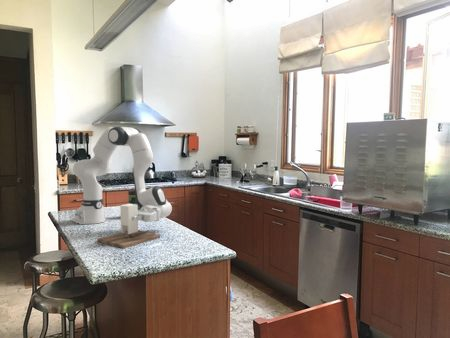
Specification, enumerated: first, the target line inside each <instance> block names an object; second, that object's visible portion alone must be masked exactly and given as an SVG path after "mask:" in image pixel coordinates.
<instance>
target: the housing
mask: <svg viewBox="0 0 450 338" xmlns="http://www.w3.org/2000/svg"><path fill="white" fill-rule="evenodd" d="M119 207H120V209H119V211H120V233H121V232H122V233H123V232H125V231H128V234H131V233H135V232H138V230H139V220H132V217H134V216H138V205H136V204H129V203H127V204H121V205H120V206H119Z"/></svg>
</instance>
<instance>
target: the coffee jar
mask: <svg viewBox="0 0 450 338" xmlns="http://www.w3.org/2000/svg"><path fill="white" fill-rule="evenodd" d="M127 193H128V194H127V195H128V196H127V197H128V204H136V201H135V188H130V189H129V190H128V192H127ZM136 205H137V204H136ZM138 210H141V208H140V207H138Z"/></svg>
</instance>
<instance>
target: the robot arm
mask: <svg viewBox="0 0 450 338" xmlns="http://www.w3.org/2000/svg"><path fill="white" fill-rule="evenodd" d="M149 141H150V140H149V139H148V137H147V135H146V134H144V133H143V132H142V131H141V130H140V129H138V128H136V127H130V126H129V127H128V126H115V127H114V126H109V127H108V128H106V129H105V130H104V132H103V133H102V134H101V135H100V137H99V138H98V140H97V142H96V143H95V145H94V147H93V149H92V153H93V154H94V156H93V157H92V158H89V159H87V158H86V159H81V160H78V161H75V163H74V164H73V165H72V171H73V174H74V175H75V177H77V178H78V179H79V181H80V183H81V185H82V192H83V194H82V195H83V199H82V200H80V202H81V206H80V207H79V208H77V209H76V210H75V213H74V217H72V218H71V219H70V221H71V222H74V223H77V224H78V223H79V225H93V224H95V225H96V224H100V223H104V222H106V220H107V217H106V212H105V207H104V198H103V185H102V184H100V183H99V182H98V180H97V177H102V176H104V175H107V174H108V173H109V172H110V170H111V164H110V160H111V157H112V155H113V153H114V152H115V150H117V149H116V148H117V147H118V146H121V147H129V148H130V151H131V154H132V159H133V165H132V178H133V185H134V189H135V201H136V204H137V205H138V207H140V208H141V210H138V216H134V217H132V220H138V221H142V222H145V223H148V222H149V223H151V222H160V220H161V219H163V218H167V217H168V216H170V214H171V213H172V210H173V206H172V204H171V203H170V202H169V201H168V199H167V198H166V193H165V191H164V190H163V188H161V187H160V186H153V187H150V188H148V189H146V182H145V173H146V172H147V170H148V169H149V168H150V167H151V165H152V164H153V161H154V154H153V150H152V146H151V144H150V142H149Z"/></svg>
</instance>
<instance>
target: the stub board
mask: <svg viewBox="0 0 450 338" xmlns="http://www.w3.org/2000/svg"><path fill="white" fill-rule="evenodd" d="M160 238H161V234H160V233H159V234H158V233H154V232H149V231H144V230H140V229H138V232H135V233H131V234H128V231H125V232H123V233H122V232H121V231H120V232H118V233H115V234H110V235H106V236H102V237H99V238H96V240H97V241H96V242H97V243H101V244H105V245H108V246H113V247H115V248H116V247H117V248H121V249H127V248H131V247H134V246H136V245H140V244H144V243H147V242H150V241H154V240H157V239H160Z"/></svg>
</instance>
